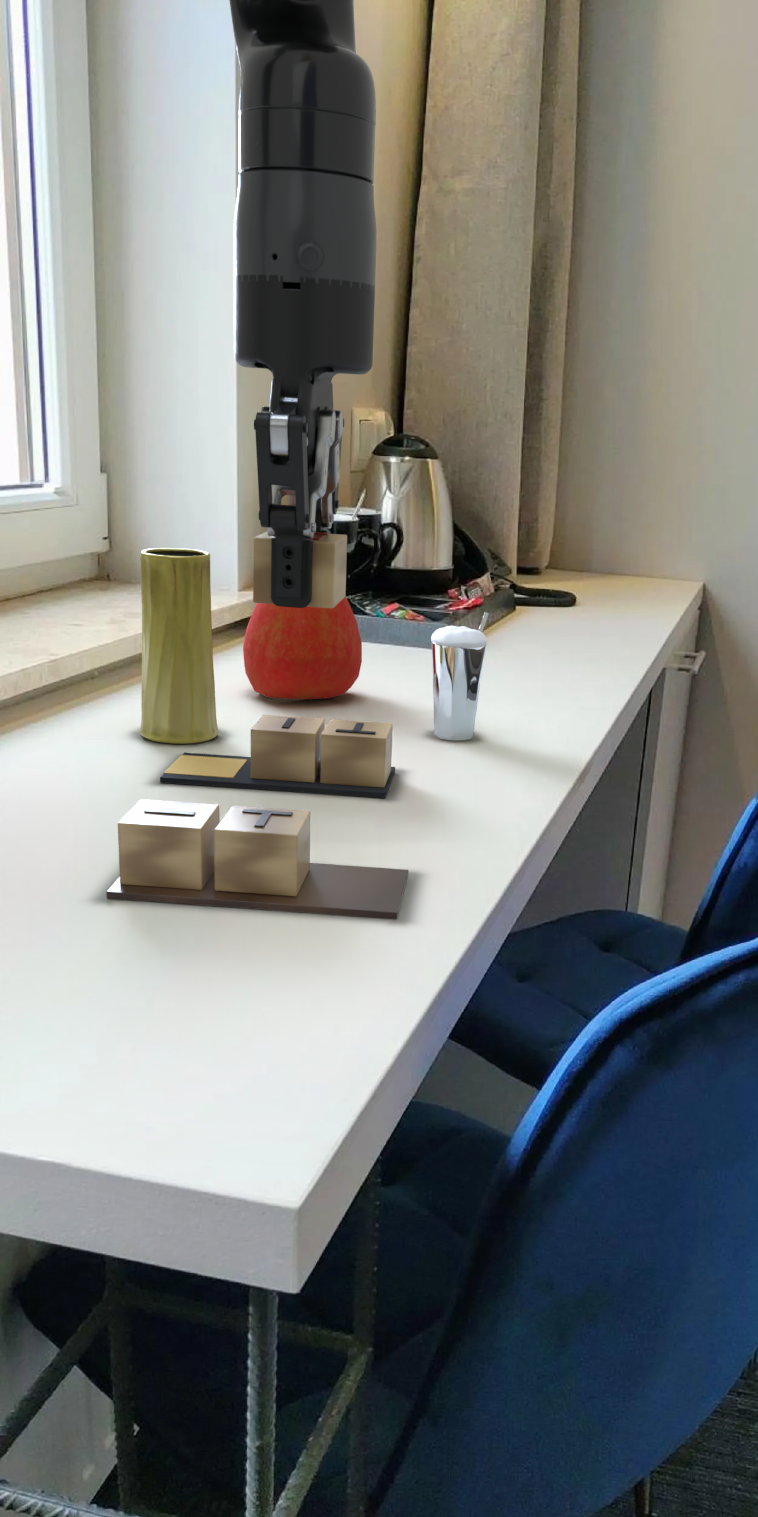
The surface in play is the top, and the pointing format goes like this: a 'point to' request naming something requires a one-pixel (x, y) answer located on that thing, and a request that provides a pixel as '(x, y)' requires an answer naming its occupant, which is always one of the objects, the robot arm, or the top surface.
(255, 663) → the apple
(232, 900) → the near word
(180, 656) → the vase
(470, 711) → the milkshake
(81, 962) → the top surface
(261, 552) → the tile
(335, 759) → the far word
